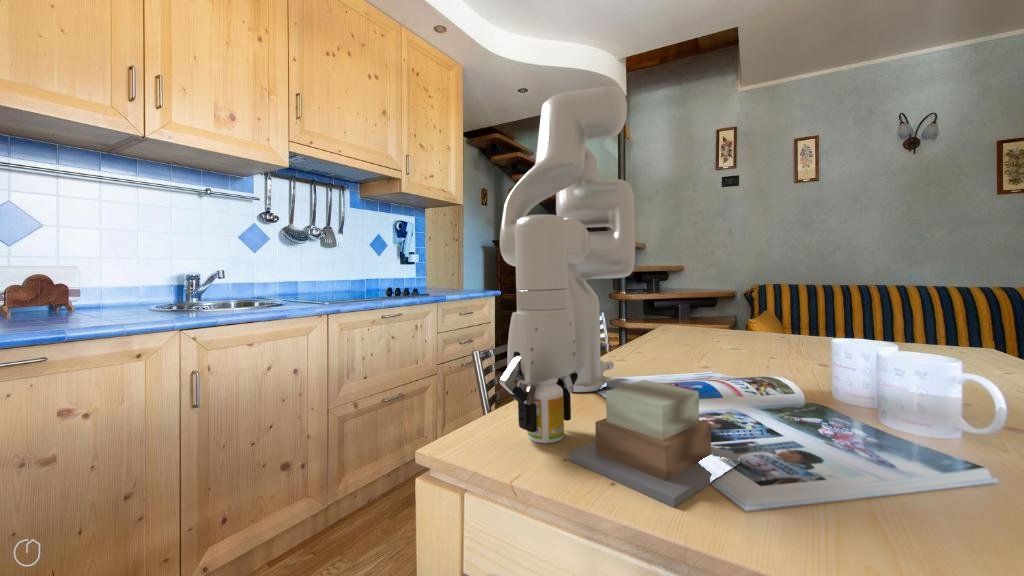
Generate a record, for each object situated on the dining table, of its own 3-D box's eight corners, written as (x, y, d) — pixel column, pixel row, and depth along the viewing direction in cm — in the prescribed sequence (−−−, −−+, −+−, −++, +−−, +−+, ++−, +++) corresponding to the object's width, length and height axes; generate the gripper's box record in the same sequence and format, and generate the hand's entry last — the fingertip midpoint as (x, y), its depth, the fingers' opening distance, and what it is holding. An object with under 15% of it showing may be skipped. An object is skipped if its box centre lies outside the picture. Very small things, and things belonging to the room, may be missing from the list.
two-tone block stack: (642, 432, 63) (641, 377, 62) (711, 455, 55) (710, 391, 54) (595, 452, 56) (594, 391, 56) (665, 481, 49) (665, 409, 48)
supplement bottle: (563, 430, 67) (562, 367, 66) (564, 444, 62) (563, 376, 61) (528, 429, 67) (527, 367, 67) (526, 444, 62) (524, 376, 62)
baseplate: (638, 430, 66) (638, 423, 66) (740, 463, 54) (740, 455, 54) (568, 459, 57) (568, 451, 57) (673, 507, 45) (673, 498, 45)
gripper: (566, 296, 72) (568, 405, 73) (478, 304, 61) (482, 431, 62) (601, 298, 66) (603, 416, 67) (512, 307, 55) (515, 448, 56)
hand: (545, 422), depth 64 cm, fingers open, 6 cm apart
